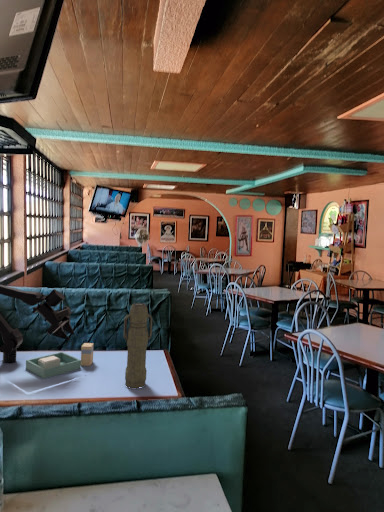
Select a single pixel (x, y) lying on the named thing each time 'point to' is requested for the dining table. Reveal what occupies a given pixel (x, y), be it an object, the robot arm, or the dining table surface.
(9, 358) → the robot arm
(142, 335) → the thermos
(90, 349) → the oat carton
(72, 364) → the tote
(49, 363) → the beige rectangular block
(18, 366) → the dining table surface
